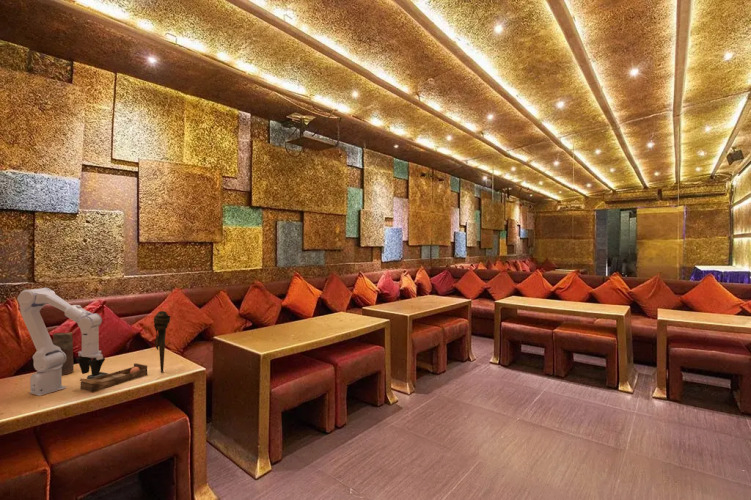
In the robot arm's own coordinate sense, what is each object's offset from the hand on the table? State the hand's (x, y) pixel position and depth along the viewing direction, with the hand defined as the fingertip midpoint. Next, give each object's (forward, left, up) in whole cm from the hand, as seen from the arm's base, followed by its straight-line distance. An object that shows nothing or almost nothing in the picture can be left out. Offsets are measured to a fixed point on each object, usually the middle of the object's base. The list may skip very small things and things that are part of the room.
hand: (90, 374), depth 153 cm
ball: (+18, -1, -4) cm, 19 cm away
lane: (+10, 0, -6) cm, 11 cm away
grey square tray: (+8, +9, -6) cm, 13 cm away
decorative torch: (+26, -8, -7) cm, 28 cm away
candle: (+6, +36, -7) cm, 37 cm away
